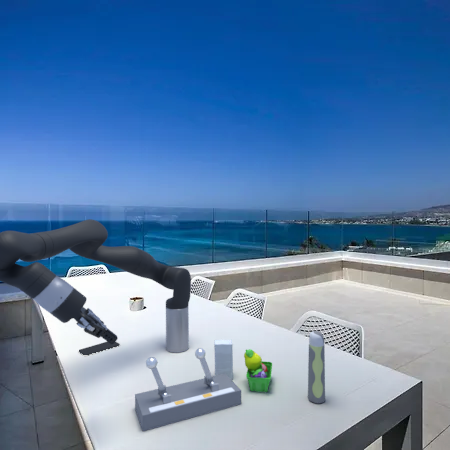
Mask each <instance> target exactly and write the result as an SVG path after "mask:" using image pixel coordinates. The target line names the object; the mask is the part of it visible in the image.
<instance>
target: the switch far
mask: <svg viewBox="0 0 450 450" xmlns="http://www.w3.org/2000/svg"><path fill="white" fill-rule="evenodd" d="M194 356H195V358H196V359H198V360H199V362H200V365H201V367H202V370H203V374H204V376H206V378H207V380H206V382H207V383H208V384H209V386H210V387H211V384H215V382H214V381H213V378H212V376H213V375H212V373H211V371H210V368H209V365H208V362H207V360H206V350H205V349H204V348H202V347H198V348H197V349H196V350H195V352H194Z"/></svg>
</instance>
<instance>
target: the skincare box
mask: <svg viewBox="0 0 450 450" xmlns="http://www.w3.org/2000/svg"><path fill="white" fill-rule="evenodd" d="M213 345H214V347H213V348H214V376H217V375H221V374H226V375H227V376H228V377H229V378H230V379H231V380H232V381H233V379H234V373H233V372H234V367H233V363H234V362H233V361H234V360H233V341H232V339H215V340H214V344H213Z"/></svg>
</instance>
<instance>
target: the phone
mask: <svg viewBox="0 0 450 450" xmlns="http://www.w3.org/2000/svg"><path fill="white" fill-rule="evenodd" d="M119 345H120V343H119V342H117V341H115V343H114V344H110V343H109V342H107V341H105V342H101V343H98V344H94V345H91V346H87V347H84V348H80V349H79V352H80V353H79V352H78V353H79V354H81V353H82V354H83V355H88V356H90V355H89V354H92V353H95V354H97V353H96V352H98V353H100V351H101V352H103V350H105V351H107V350H106V349H108V350H111V349H114V348H113V347H115V348H118V347H120V346H121V345H120V346H119ZM117 346H118V347H117ZM110 348H111V349H110ZM82 354H81V355H82ZM83 355H82V356H83ZM92 355H93V354H92Z"/></svg>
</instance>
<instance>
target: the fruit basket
mask: <svg viewBox="0 0 450 450" xmlns="http://www.w3.org/2000/svg"><path fill="white" fill-rule="evenodd" d="M243 358H244V362H245V363H244V365H245V367H246V369H247V371H246V375H245V376H246V380H247V382H248V385H249V387H248V388H249V389H250V392H256V393H257V392H259V393H268V390H269V386H270V382H271V380H272V371H273V362H271V361H263V360H262V357H261V355H259V354H258V353H256V352H255V351H254V350H253V349H251V348H250V349H245V352H244V354H243Z"/></svg>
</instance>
